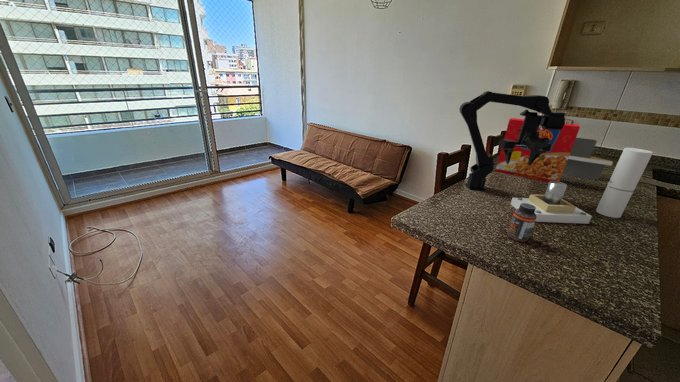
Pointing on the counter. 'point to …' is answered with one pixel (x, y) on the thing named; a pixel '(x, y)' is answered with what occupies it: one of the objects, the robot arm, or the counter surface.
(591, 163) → the architectural model
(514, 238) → the supplement bottle
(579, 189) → the counter surface
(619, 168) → the cylindrical container
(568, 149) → the pasta box
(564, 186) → the spout can
